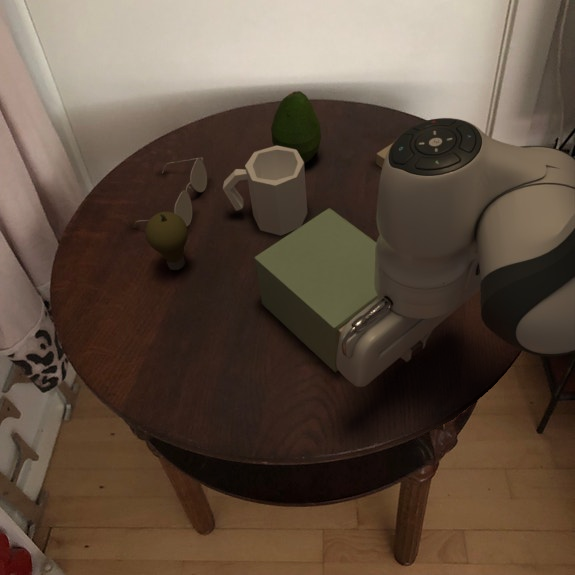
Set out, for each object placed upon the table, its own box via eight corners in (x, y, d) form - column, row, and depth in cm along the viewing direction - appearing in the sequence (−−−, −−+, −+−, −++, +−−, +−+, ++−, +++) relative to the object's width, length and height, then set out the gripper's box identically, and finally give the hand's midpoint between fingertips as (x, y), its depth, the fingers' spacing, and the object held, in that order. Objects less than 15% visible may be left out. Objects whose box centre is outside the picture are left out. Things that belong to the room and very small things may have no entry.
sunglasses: (184, 236, 94) (172, 212, 90) (135, 236, 96) (122, 213, 93) (211, 175, 102) (201, 151, 98) (165, 177, 105) (154, 153, 101)
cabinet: (406, 316, 81) (412, 268, 74) (335, 373, 77) (334, 328, 69) (330, 256, 89) (329, 207, 82) (262, 304, 84) (253, 257, 77)
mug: (307, 194, 97) (303, 143, 90) (307, 234, 92) (304, 184, 84) (231, 198, 98) (221, 148, 91) (227, 238, 93) (216, 188, 85)
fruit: (323, 143, 105) (321, 80, 96) (320, 174, 100) (317, 111, 91) (277, 143, 106) (270, 80, 97) (271, 174, 101) (264, 111, 92)
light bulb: (205, 264, 90) (191, 215, 82) (175, 288, 87) (159, 239, 80) (179, 246, 92) (164, 196, 85) (150, 268, 90) (132, 219, 82)
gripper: (367, 354, 55) (365, 426, 66) (511, 236, 63) (489, 317, 73) (319, 313, 59) (325, 387, 69) (462, 206, 66) (447, 288, 77)
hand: (410, 351), depth 72 cm, fingers closed, pressing on drawer
